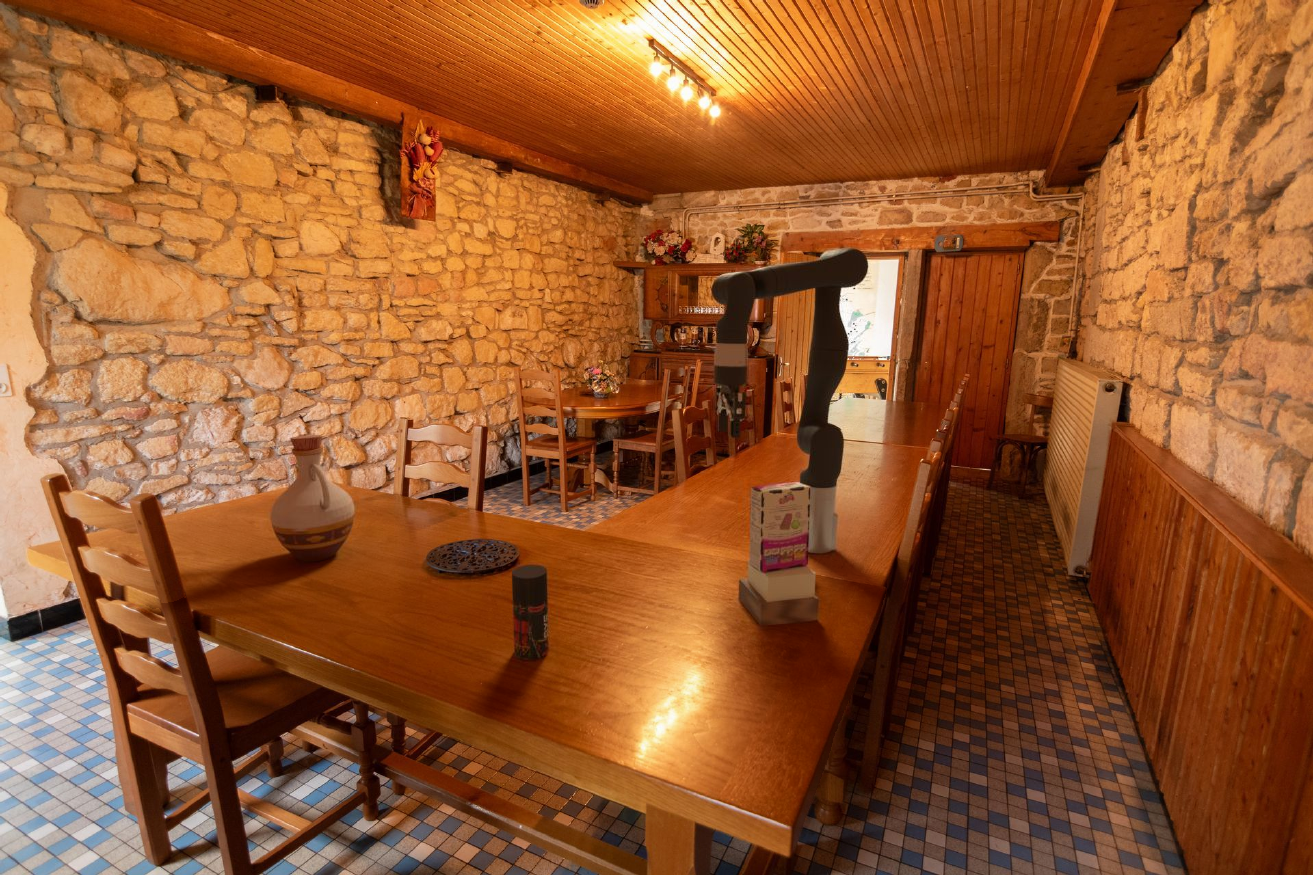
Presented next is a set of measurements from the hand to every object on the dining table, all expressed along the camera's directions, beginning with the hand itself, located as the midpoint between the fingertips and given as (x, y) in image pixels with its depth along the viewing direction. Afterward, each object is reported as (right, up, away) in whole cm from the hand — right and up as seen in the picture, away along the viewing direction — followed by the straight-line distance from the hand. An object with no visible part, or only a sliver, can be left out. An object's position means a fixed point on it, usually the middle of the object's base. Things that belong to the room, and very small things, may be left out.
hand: (728, 434), depth 142 cm
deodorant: (-39, -39, -34) cm, 64 cm away
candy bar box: (+8, -27, -18) cm, 33 cm away
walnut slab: (+8, -36, -16) cm, 41 cm away
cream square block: (+8, -31, -17) cm, 37 cm away
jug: (-99, -30, +8) cm, 104 cm away
